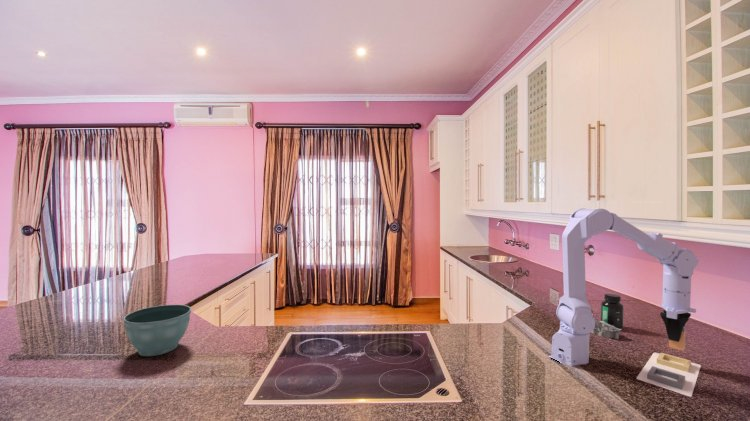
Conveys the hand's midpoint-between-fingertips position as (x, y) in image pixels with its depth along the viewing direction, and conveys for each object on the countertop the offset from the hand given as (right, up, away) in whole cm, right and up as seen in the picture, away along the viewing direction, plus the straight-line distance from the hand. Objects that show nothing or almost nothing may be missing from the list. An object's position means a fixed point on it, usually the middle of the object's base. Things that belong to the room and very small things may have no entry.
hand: (674, 338), depth 89 cm
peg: (0, -2, 0) cm, 2 cm away
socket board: (-5, -8, -4) cm, 10 cm away
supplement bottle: (+5, -8, +30) cm, 31 cm away
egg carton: (-4, -8, +24) cm, 25 cm away
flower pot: (-147, -5, +4) cm, 147 cm away
